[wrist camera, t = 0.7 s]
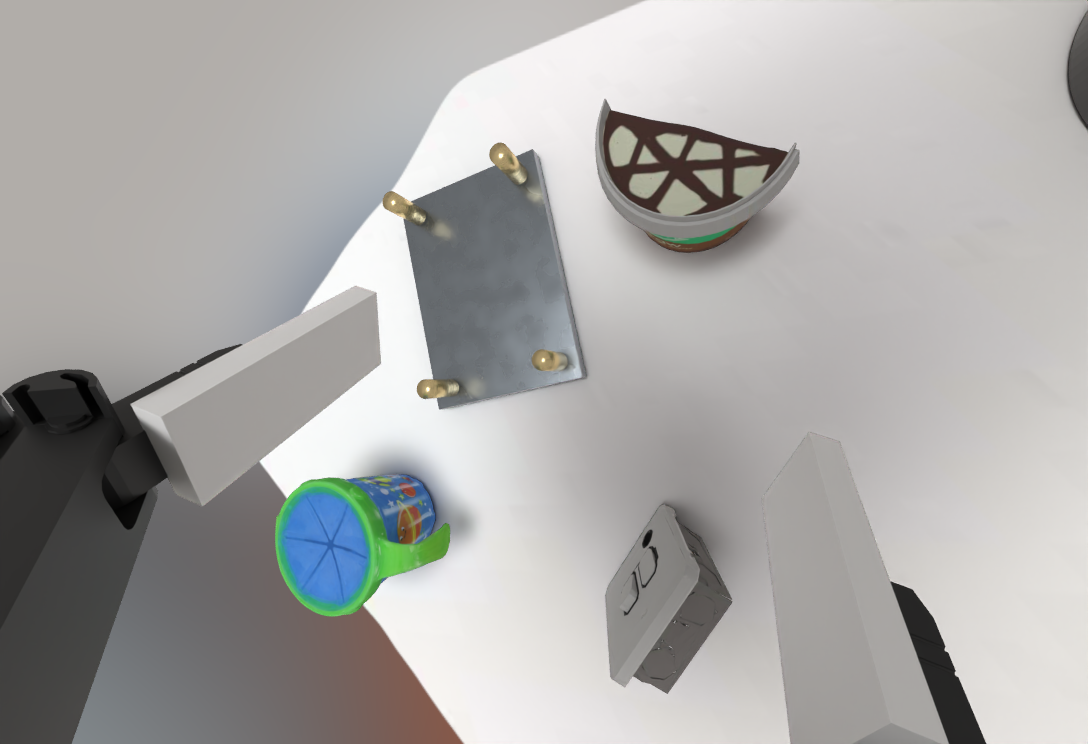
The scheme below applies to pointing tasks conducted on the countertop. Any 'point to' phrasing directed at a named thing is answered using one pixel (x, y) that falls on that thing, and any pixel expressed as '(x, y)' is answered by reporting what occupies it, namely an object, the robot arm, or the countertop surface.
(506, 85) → the countertop surface
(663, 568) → the electrical switch
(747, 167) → the food container
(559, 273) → the post plate
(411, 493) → the snack cup
